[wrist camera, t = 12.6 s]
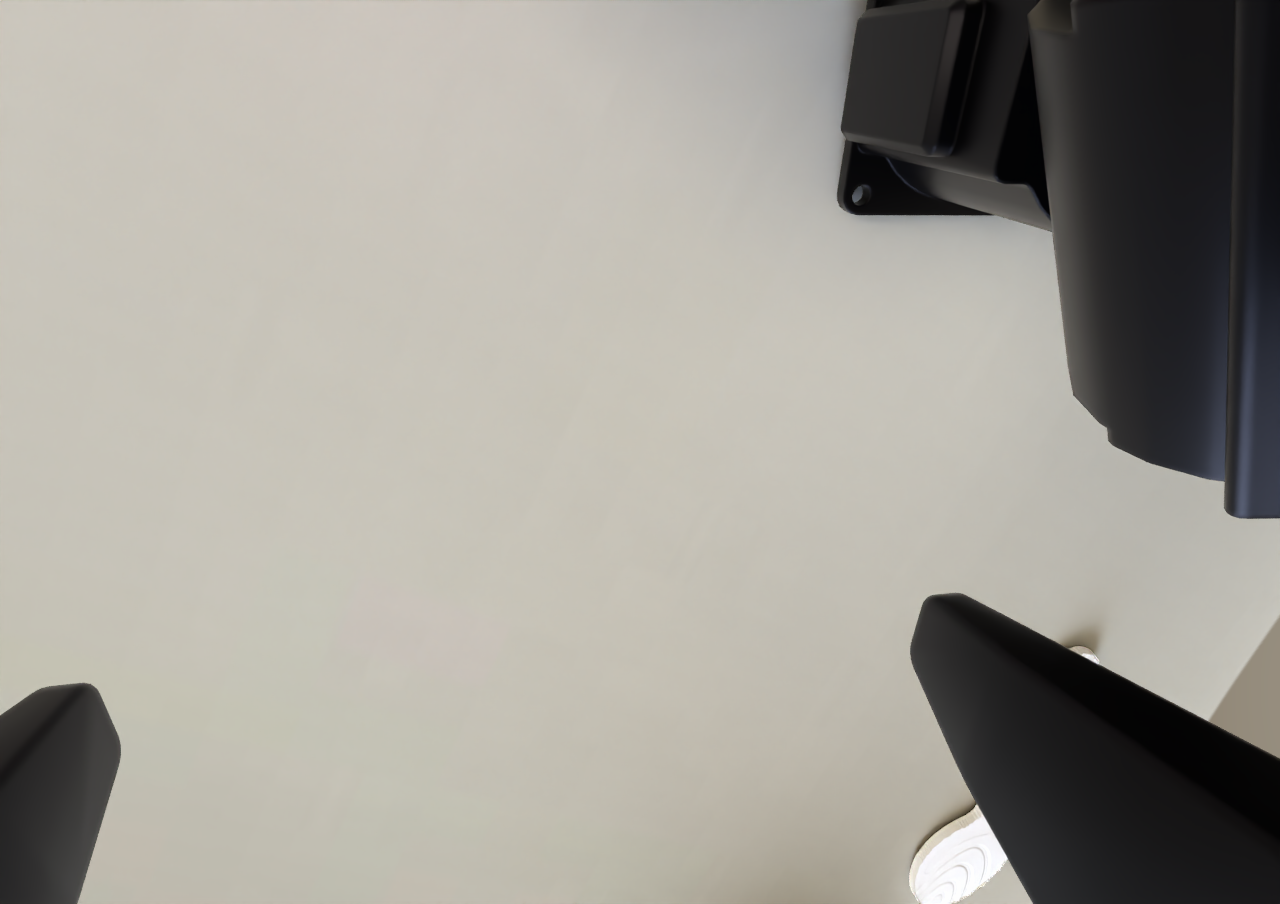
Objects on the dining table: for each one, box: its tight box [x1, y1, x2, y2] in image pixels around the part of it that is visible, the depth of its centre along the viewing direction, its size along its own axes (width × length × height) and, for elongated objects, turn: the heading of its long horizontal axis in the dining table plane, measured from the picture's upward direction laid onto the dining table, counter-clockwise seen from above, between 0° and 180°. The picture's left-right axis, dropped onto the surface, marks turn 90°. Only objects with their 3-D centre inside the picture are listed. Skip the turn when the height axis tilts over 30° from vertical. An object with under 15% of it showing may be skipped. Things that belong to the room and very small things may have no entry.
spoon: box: [909, 646, 1099, 904], centre depth 34 cm, size 5×18×1 cm, turn 171°
